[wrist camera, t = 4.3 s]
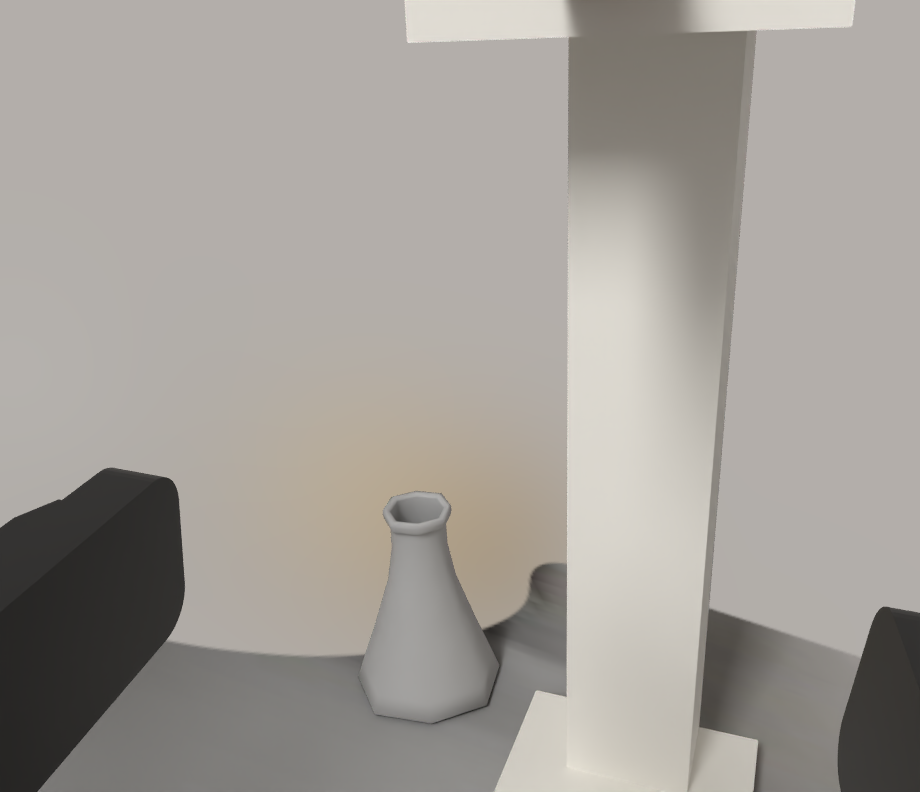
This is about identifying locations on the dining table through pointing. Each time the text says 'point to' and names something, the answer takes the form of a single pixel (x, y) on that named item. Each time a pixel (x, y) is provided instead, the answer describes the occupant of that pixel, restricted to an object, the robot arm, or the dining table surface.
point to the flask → (425, 624)
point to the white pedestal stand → (641, 370)
